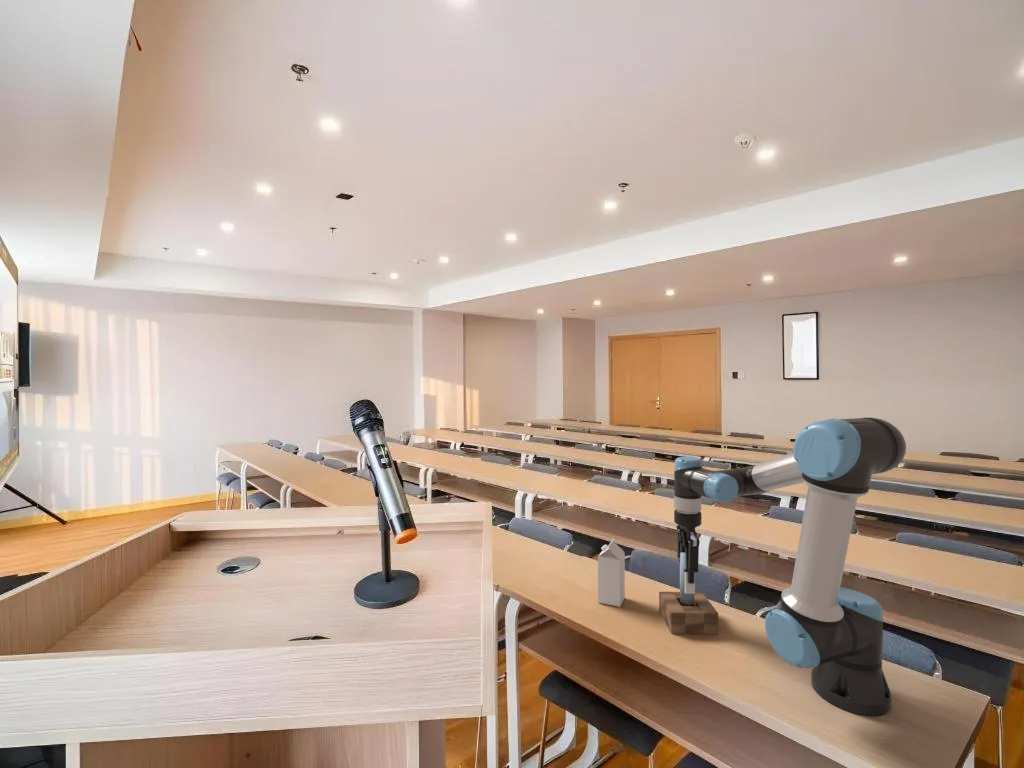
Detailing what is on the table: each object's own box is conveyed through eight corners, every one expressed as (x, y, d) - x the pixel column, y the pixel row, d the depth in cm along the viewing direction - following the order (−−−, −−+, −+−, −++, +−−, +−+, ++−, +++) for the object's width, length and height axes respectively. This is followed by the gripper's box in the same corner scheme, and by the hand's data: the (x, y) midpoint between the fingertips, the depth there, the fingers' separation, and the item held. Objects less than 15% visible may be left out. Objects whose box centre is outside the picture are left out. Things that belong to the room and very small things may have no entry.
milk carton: (624, 597, 160) (624, 540, 160) (620, 607, 154) (620, 547, 153) (603, 593, 163) (603, 537, 163) (597, 603, 157) (597, 544, 156)
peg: (696, 604, 143) (696, 557, 142) (682, 604, 143) (682, 556, 142) (691, 598, 147) (692, 551, 146) (678, 598, 147) (678, 551, 146)
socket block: (718, 634, 138) (718, 613, 138) (671, 633, 138) (671, 612, 138) (701, 611, 151) (702, 592, 151) (659, 610, 151) (659, 591, 151)
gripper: (711, 519, 135) (710, 603, 136) (691, 502, 152) (690, 577, 153) (683, 519, 135) (683, 603, 136) (666, 502, 152) (666, 576, 153)
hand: (687, 589), depth 144 cm, fingers closed on peg, 4 cm apart
